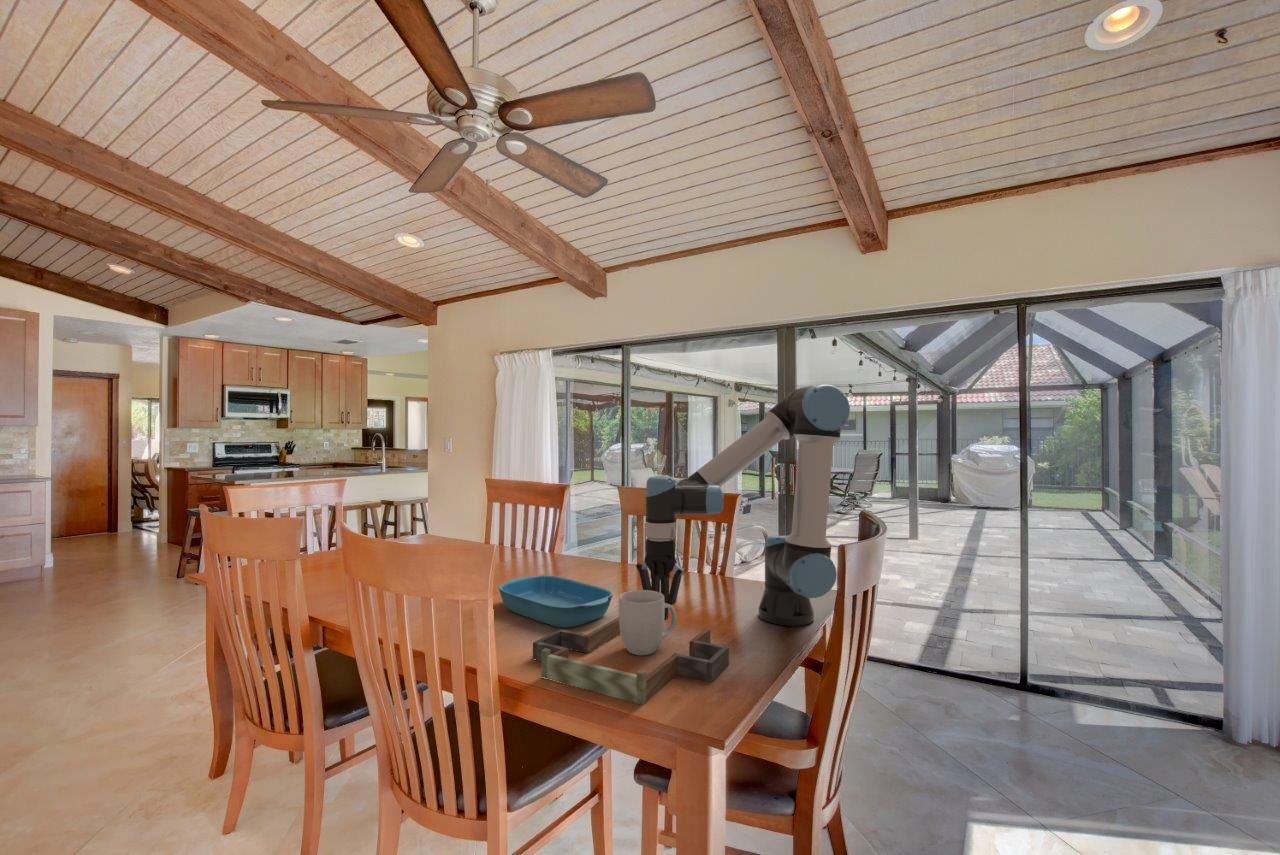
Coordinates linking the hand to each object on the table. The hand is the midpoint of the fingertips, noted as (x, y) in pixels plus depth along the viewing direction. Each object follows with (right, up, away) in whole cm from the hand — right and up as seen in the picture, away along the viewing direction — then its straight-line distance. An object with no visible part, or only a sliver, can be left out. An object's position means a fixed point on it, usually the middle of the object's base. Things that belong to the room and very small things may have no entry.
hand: (660, 631), depth 147 cm
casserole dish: (-30, -3, +22) cm, 37 cm away
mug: (-4, -2, -6) cm, 8 cm away
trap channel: (-7, -2, -13) cm, 15 cm away
